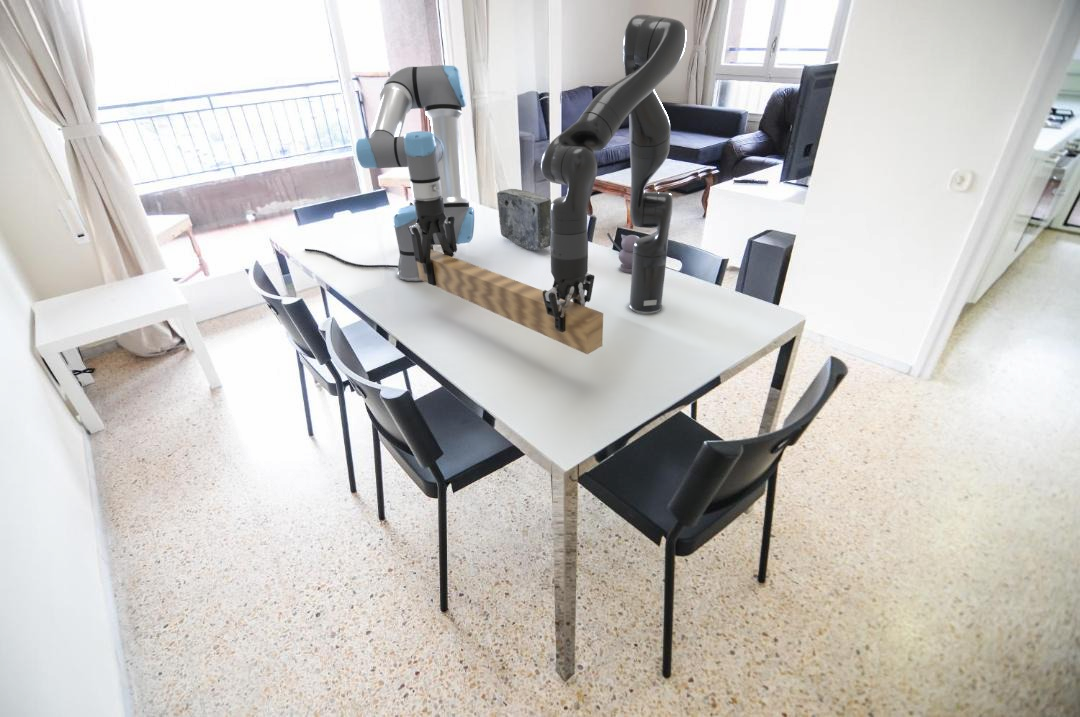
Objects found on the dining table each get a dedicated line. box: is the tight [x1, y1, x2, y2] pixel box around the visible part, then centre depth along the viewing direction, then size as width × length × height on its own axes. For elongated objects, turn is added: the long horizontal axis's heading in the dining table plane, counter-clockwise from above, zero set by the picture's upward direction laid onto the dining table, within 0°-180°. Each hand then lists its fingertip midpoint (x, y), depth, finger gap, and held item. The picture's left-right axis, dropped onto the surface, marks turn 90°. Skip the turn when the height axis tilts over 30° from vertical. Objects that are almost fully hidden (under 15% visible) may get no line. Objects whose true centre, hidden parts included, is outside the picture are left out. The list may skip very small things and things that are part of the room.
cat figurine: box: [618, 233, 640, 274], centre depth 170 cm, size 8×8×12 cm
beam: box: [417, 249, 604, 355], centre depth 124 cm, size 64×5×8 cm, turn 45°
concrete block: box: [496, 188, 552, 251], centre depth 192 cm, size 27×9×20 cm, turn 36°
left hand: (440, 280), depth 141 cm, fingers closed on beam, 5 cm apart
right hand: (569, 325), depth 109 cm, fingers closed on beam, 5 cm apart
